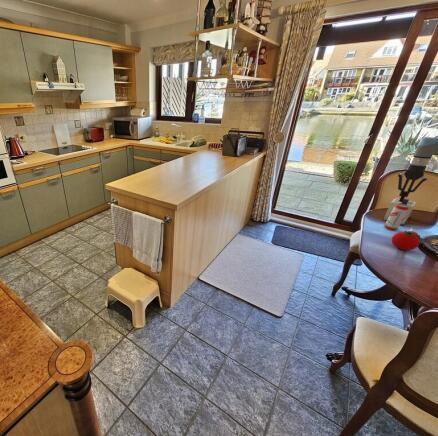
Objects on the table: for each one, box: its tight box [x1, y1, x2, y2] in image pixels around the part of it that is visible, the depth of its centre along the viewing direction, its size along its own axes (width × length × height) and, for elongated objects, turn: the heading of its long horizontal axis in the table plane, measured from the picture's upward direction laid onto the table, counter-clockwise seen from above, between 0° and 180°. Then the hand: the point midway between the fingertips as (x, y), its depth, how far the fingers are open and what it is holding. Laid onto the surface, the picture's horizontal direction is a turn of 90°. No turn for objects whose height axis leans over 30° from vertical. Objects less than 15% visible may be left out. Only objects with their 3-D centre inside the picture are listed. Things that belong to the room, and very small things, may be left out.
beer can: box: [384, 204, 408, 231], centre depth 149 cm, size 6×6×16 cm
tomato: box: [390, 229, 419, 251], centre depth 131 cm, size 10×10×10 cm
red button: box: [407, 230, 419, 236], centre depth 138 cm, size 4×4×2 cm
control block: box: [417, 234, 424, 247], centre depth 139 cm, size 10×8×4 cm
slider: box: [401, 197, 410, 205], centre depth 155 cm, size 2×2×3 cm
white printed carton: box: [382, 197, 417, 226], centre depth 161 cm, size 10×12×13 cm
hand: (400, 201), depth 156 cm, fingers closed
